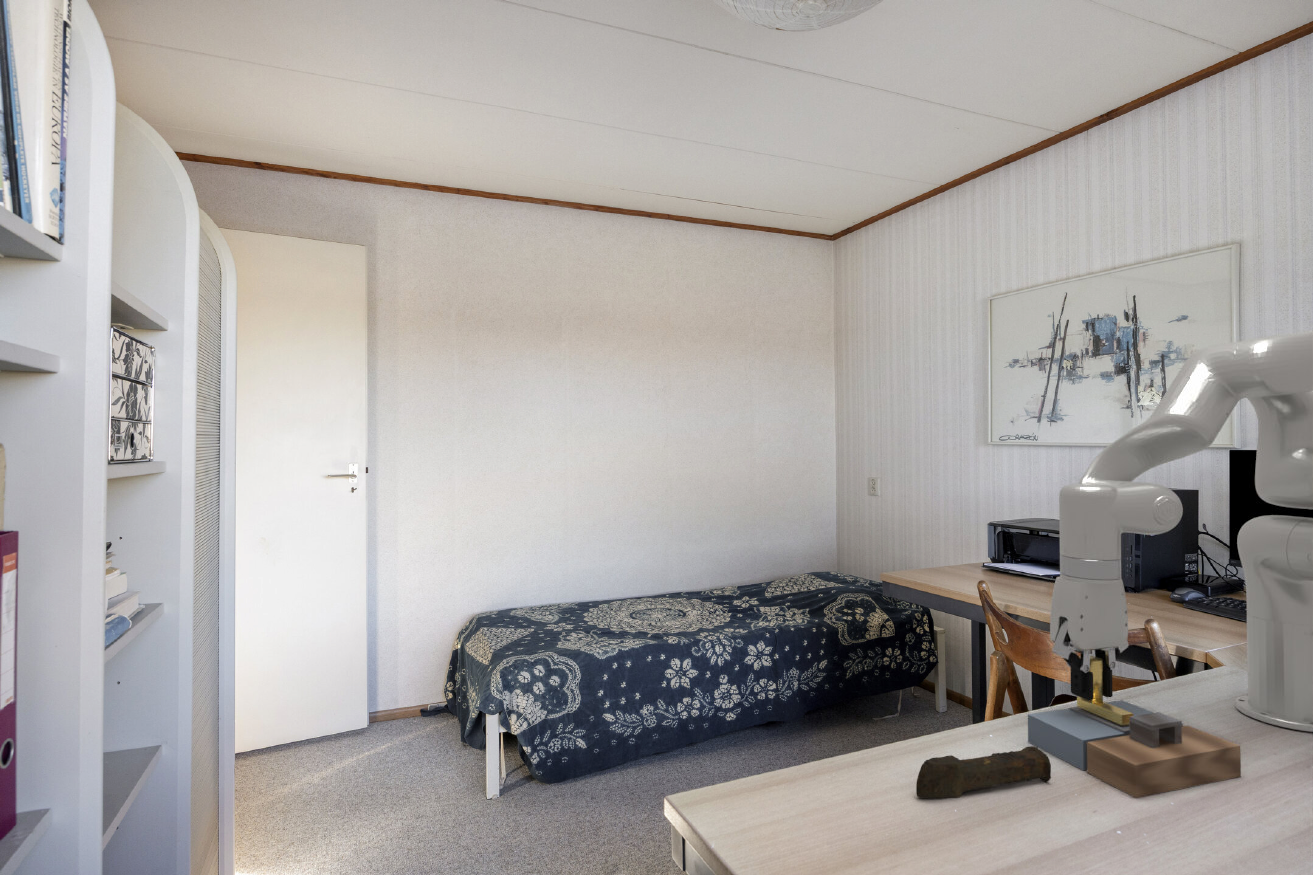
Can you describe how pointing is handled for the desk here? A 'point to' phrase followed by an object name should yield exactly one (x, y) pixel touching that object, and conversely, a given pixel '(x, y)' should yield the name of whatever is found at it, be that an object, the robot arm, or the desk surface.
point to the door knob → (1097, 702)
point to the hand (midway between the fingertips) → (1091, 694)
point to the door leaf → (1075, 731)
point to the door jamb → (1162, 757)
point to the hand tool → (980, 772)
